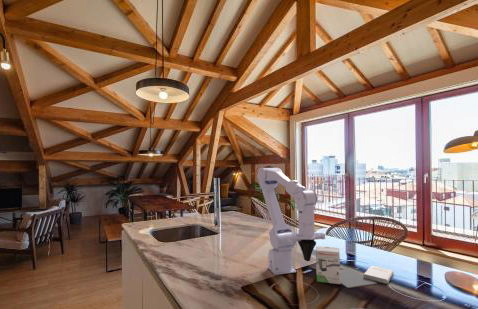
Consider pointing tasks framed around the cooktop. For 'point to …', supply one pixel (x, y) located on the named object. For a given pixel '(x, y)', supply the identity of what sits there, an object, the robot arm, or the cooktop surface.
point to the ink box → (328, 265)
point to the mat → (354, 279)
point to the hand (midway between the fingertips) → (306, 260)
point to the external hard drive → (378, 274)
